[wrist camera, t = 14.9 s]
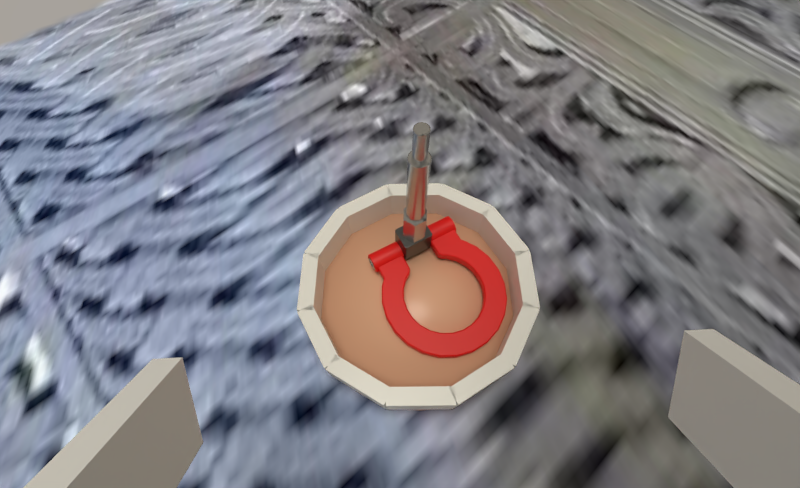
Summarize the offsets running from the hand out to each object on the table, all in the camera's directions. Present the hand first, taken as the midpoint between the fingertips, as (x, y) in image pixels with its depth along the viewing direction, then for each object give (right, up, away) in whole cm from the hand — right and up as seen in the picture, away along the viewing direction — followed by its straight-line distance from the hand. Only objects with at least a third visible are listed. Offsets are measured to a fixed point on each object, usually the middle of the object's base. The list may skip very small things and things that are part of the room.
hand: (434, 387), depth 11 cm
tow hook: (+2, 0, +17) cm, 17 cm away
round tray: (0, 0, +17) cm, 17 cm away
